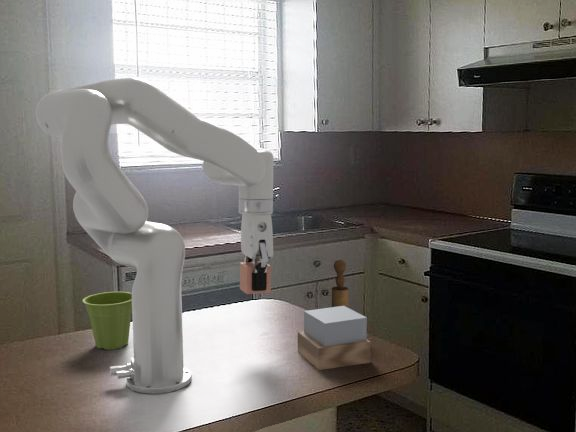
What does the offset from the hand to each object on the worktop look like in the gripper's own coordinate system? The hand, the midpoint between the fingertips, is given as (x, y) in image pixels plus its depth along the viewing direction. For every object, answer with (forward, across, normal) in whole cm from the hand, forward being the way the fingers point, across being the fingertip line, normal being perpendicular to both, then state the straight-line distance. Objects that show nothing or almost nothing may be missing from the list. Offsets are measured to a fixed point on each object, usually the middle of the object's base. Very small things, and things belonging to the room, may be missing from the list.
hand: (254, 286), depth 147 cm
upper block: (+10, -10, -15) cm, 21 cm away
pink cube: (+1, 0, 0) cm, 1 cm away
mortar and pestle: (+14, +4, -23) cm, 27 cm away
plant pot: (+15, +14, +30) cm, 37 cm away
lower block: (+15, -10, -15) cm, 23 cm away
